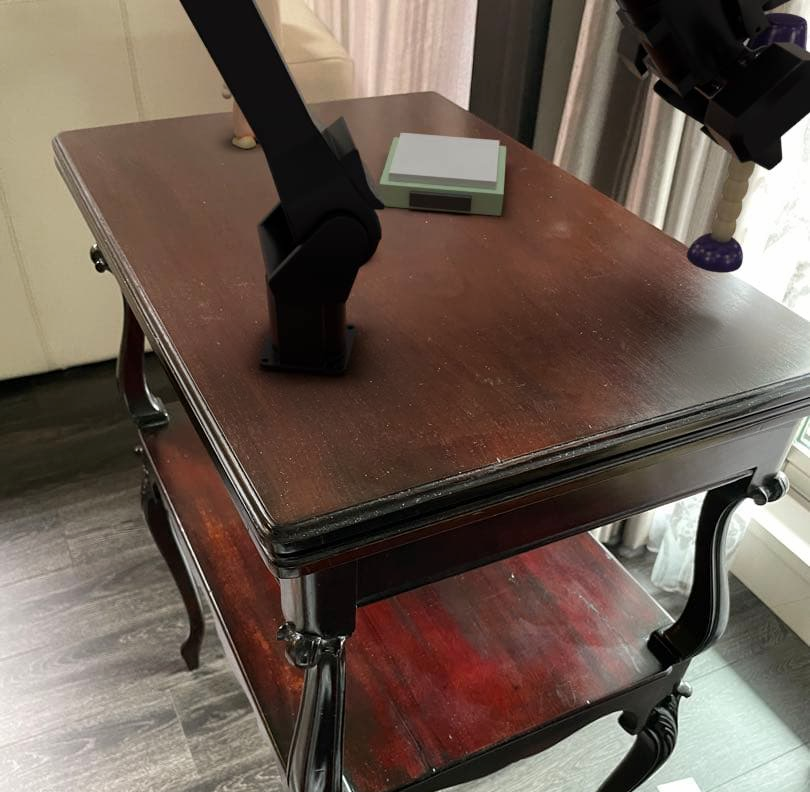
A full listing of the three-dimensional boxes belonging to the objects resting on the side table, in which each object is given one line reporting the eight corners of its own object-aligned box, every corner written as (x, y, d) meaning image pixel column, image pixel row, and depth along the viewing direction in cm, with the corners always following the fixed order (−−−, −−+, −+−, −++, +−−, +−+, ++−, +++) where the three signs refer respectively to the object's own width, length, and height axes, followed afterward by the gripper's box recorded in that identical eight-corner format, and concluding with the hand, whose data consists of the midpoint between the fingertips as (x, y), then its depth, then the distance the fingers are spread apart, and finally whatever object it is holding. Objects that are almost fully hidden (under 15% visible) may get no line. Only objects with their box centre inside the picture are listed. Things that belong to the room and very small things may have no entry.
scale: (500, 218, 81) (504, 187, 79) (378, 208, 82) (378, 177, 80) (503, 167, 90) (507, 138, 88) (393, 158, 91) (393, 128, 88)
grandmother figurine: (257, 154, 90) (245, 19, 81) (223, 150, 90) (207, 15, 81) (279, 128, 95) (270, -1, 86) (246, 124, 96) (234, -5, 87)
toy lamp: (699, 277, 64) (779, 29, 52) (667, 249, 67) (735, 8, 55) (752, 269, 65) (842, 25, 53) (717, 242, 68) (795, 6, 56)
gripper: (877, -118, 41) (953, 114, 51) (705, -169, 54) (793, 25, 64) (685, 61, 45) (789, 244, 55) (567, -25, 58) (670, 136, 68)
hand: (760, 153), depth 61 cm, fingers closed on toy lamp, 4 cm apart
